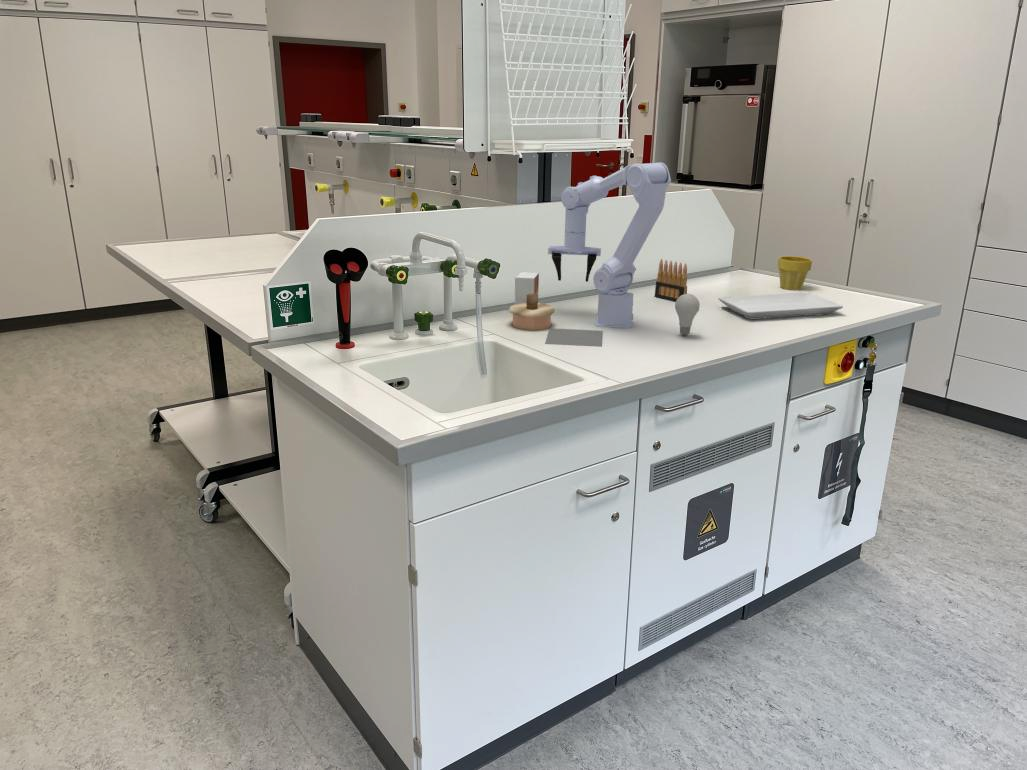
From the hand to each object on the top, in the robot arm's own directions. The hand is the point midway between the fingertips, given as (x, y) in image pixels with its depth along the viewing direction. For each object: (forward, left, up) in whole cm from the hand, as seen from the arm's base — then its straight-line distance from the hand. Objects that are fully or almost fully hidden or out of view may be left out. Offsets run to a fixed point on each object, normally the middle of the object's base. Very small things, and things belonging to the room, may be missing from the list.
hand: (573, 280), depth 213 cm
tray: (-60, -12, -10) cm, 62 cm away
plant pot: (-70, -45, -10) cm, 84 cm away
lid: (+10, +15, -5) cm, 19 cm away
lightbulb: (-30, +18, -10) cm, 36 cm away
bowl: (+10, +15, -9) cm, 20 cm away
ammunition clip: (-29, -21, -10) cm, 37 cm away
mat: (-2, +25, -9) cm, 27 cm away
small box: (+13, 0, -10) cm, 16 cm away
